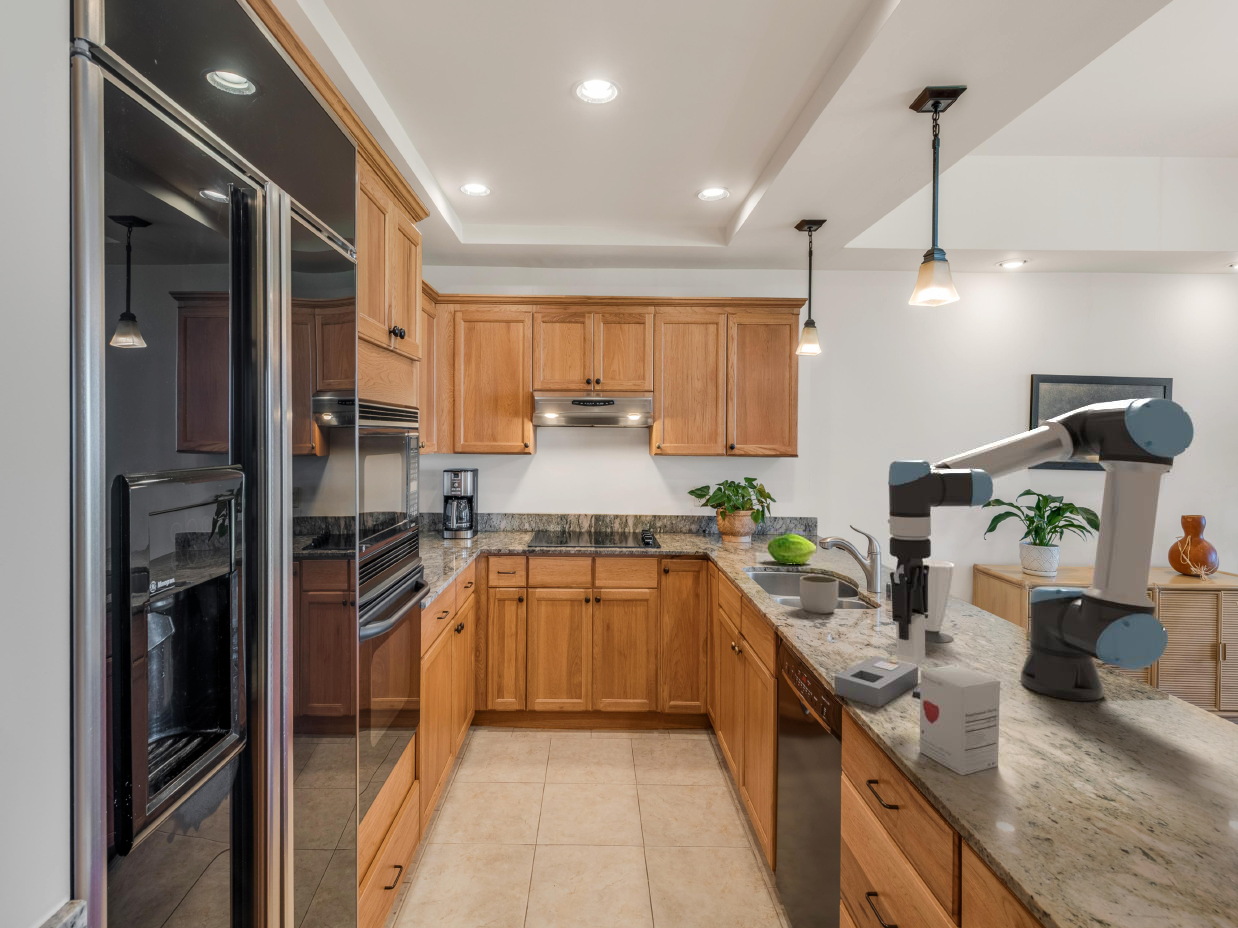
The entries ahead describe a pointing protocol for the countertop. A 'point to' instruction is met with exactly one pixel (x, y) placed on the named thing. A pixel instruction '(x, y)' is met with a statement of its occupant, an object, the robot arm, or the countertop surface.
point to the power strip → (876, 680)
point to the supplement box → (959, 718)
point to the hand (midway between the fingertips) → (910, 651)
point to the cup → (937, 599)
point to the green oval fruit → (791, 549)
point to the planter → (818, 594)
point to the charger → (915, 640)
